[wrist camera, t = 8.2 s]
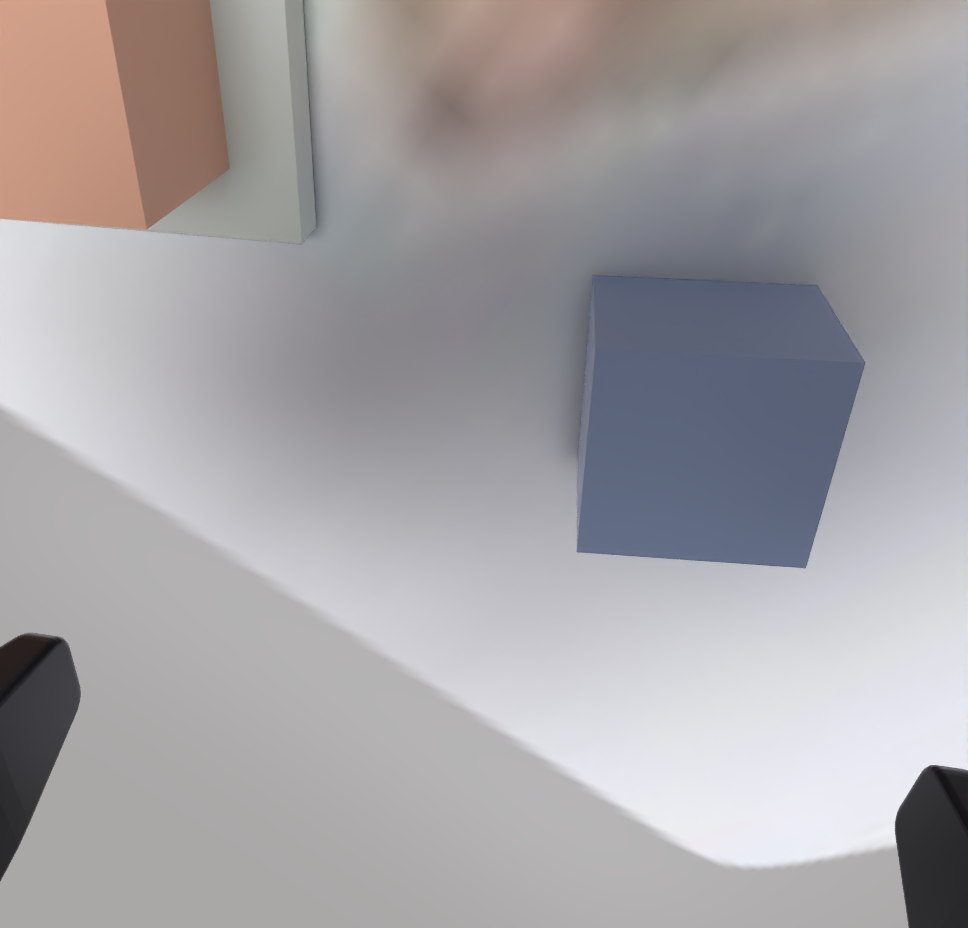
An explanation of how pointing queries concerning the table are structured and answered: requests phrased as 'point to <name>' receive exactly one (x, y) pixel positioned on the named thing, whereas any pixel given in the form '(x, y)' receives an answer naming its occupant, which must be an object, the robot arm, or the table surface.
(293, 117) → the grey baseplate
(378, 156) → the table surface
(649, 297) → the navy brick
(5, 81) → the terracotta brick
